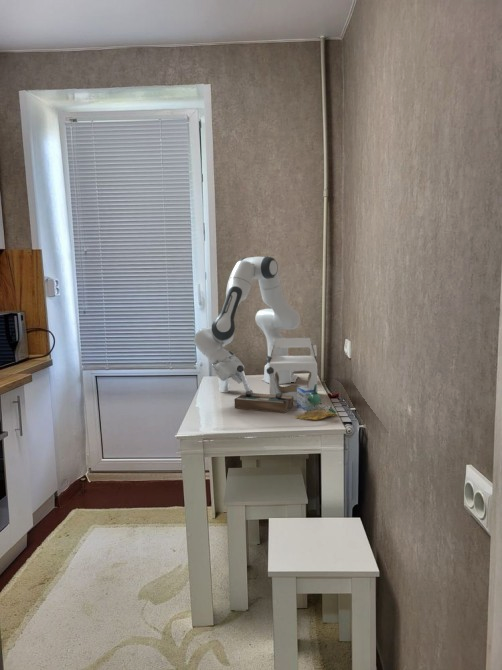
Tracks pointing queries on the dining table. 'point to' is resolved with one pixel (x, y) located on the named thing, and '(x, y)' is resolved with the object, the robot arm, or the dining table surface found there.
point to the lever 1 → (244, 380)
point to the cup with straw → (224, 385)
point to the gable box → (293, 363)
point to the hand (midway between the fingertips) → (241, 382)
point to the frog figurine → (316, 415)
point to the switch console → (264, 402)
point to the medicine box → (304, 397)
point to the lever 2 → (274, 382)
